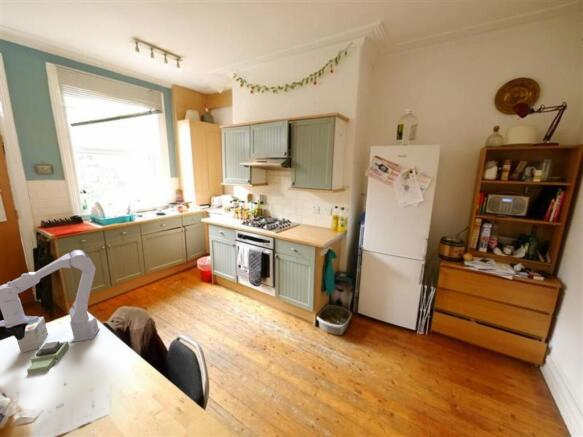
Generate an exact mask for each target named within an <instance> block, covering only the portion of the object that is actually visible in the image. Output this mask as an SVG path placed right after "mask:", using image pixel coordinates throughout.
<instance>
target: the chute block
mask: <svg viewBox="0 0 583 437" xmlns="http://www.w3.org/2000/svg"><path fill="white" fill-rule="evenodd" d="M43 345H44V346H43ZM43 345H42V346H43V347H42V346H41V348H39V349H38V351H37V352H36V353H35V357H38V356H44V355H50V354H56V353H57V351H58V350H59V349H60V348H61V347H62V343H60V341H59V340H57V341H52V342H46V343H45V344H43Z"/></svg>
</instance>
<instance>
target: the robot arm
mask: <svg viewBox="0 0 583 437" xmlns="http://www.w3.org/2000/svg"><path fill="white" fill-rule="evenodd" d="M71 266H72V267H73V268H76V269H78V270H80V271H82V272H81V277H80V279H79V284H78V289H77V293H76V296H75V299H74V300H75V301H74V302H73V304H72V306H71V307H70V309H69V310H68V314H69V317H70V322H69V324H70V328H71V331H72V336H73V337H71V339H70V340H69V343H74V342H75V343H76V342H80V341H87V340H93V339H94V337H95V336H96V334H97V333H98V331H100V327H99V324H98V321H97V318H96V317H91V316H90V315H89V314H88V306H89V304H88V302H89V299H90V294H91V290H92V287H93V282H94V277H95V273H96V269H97V268H96V266H95V265H94V263H93V260H91V258H90V257H89V255H88V254H87V253H86V252H85V251H83V250H82V249H74V250H72V251H71V252H68V253H65V254H63V255H62V256H60V257H59V258H57V259H55V260H54V261H52V262H50V263H49V264H47V265H45V266H43V267H42V268H40V269H38V270H37V271H34V272H33V271H29V272H27V273H26V272H25V273H22V274H21V276H20V277H18V278H15V279H13V280H12V281H10V280H9V281H8V282H6V283H4V284H2V285H0V311H1V314H2V316H3V320H0V327H5V329H4V331H5V332H7V333H9V334H11V335H12V337H14V338H15V339H16V340H22V339H23V338H24V337H25V329H26V326H27V323H31V322H33V323H36V322H37V321H38V320H39V316H38V315H37V316H35V315H34V316H31V315H26V314H25V312H24V309H23V308H24V307H23V306H22V302H21V299H20V297H19V294H20V293H22V292H24V291H26V290H28V289H29V288H31V287H33V286H35V285H37V284H39V283H40V281H41V279H42V278H44V277H46V276H48V275H50V274H52V273H54V272H56V271H58V270H60V269H62V268H64V269H71Z"/></svg>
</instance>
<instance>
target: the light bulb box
mask: <svg viewBox="0 0 583 437" xmlns="http://www.w3.org/2000/svg"><path fill="white" fill-rule="evenodd" d="M38 318H39V320H38V321H37V322H36V323H33V322H31V323H27V326H26V329H25V337H24V338H23V339H22V340H17V339H16V340H17V341H16V342H17V345H18V348H19V351H20V353H27V352H31V351H36V350H40V349H41V348H40V347H42V346H43V345H42V344H43V343H44V341H45V340H46V339H47V337H48V336H49V332H48V328H47V325H46V321H45V317H44V316H38Z"/></svg>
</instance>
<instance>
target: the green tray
mask: <svg viewBox="0 0 583 437" xmlns="http://www.w3.org/2000/svg"><path fill="white" fill-rule="evenodd" d="M59 342H60V341H59ZM60 343H62V347H61V348H60V349H59V350H58V351H57V353H56V354H50V355H44V356H38V357H36V356H33V357H31V358H30V359H29V360H30V363H31V364H30V365H29V367H28V368H27V369H26V371H27V374H28V375H29V374H35V373H39V372H46V371H49V370H50V369H51V368H52V367H53V365H54V364H55V363H56V361H57V362H58V361H60V359H61V358H62V357H63V356H64V354H65V352H67V351H68V349H69V348H70V342H69V341H68V340H66V341H61V342H60ZM44 345H45V344H43V345H41V348H42V347H43V346H44Z"/></svg>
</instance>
